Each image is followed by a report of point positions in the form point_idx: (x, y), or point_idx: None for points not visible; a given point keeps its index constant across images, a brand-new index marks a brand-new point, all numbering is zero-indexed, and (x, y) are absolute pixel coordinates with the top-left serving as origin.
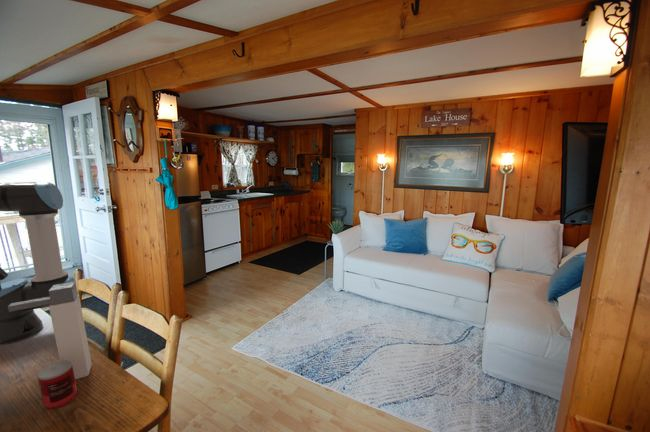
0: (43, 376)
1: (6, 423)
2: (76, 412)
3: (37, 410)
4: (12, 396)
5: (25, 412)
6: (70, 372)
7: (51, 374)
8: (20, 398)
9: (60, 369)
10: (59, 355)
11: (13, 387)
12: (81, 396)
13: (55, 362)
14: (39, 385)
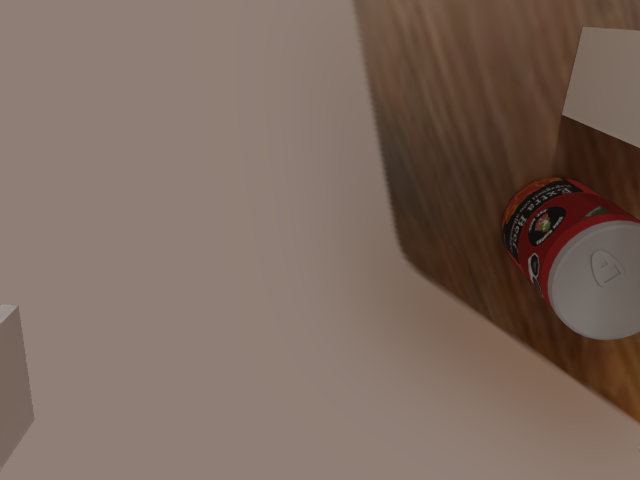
0: (571, 313)
1: (400, 247)
2: None
3: (479, 238)
4: (389, 84)
5: (445, 224)
6: None
7: (598, 311)
8: (419, 121)
9: (631, 294)
10: (636, 144)
11: (380, 8)
12: None
13: (621, 229)
14: (533, 278)
